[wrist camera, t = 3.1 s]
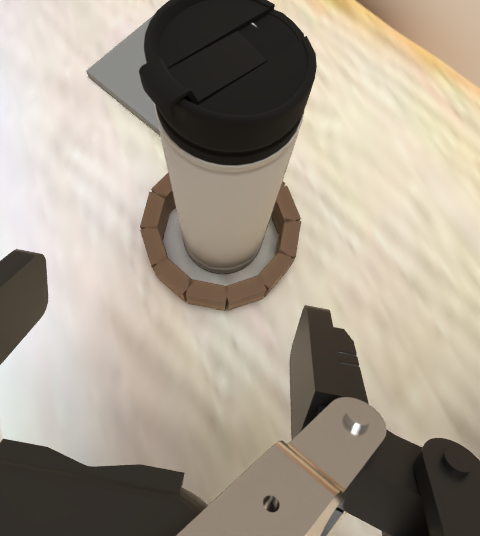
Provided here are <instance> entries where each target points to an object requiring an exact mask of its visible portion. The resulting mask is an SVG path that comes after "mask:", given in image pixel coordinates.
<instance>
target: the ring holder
mask: <svg viewBox="0 0 480 536" xmlns="http://www.w3.org/2000/svg"><path fill="white" fill-rule="evenodd" d="M284 185H285V183H284V182H283V181H282V184H281V187H280V190H279V193H278V196H277V199H276V202H275V205H274V208H273V211H272V214H271V216H272V219H273V222H274V224H275V227H276V229H277V232H278V234H279V236H278V242H277V248H276V254H275V257H274V258H273V259H272V260H271V262H270V263H269V264H268V265H267V266H266V267H265V268H264V270H263V271H262V272H261V273H260V274H259V275H258V276H255V277H252V278H249V279H246V280H243V281H240V282H237V283H234V284H231V285H228V286H223V285H218V284H213V283H208V282H202V281H197V280H192V279H191V278H190V277H189V276H188V275H186V274H185V273H184V272H183V271H182V270H181V269H180V268H178V267H177V266H176V265H175V264H174V263H173V262H171V261H170V260H169V259H168V257H167V254H166V251H165V248H164V245H163V242H162V240H163V236H164V232H165V228H166V224H167V220H168V216H169V213H170V212H171V211H172V210H173V209H174V208H175V207H176V204H175V200H174V195H173V191H172V186H171V181H170V177H169V172H168V173H167V174H166V175H165V176H164V177H163V178H162V179H161V180H160V181H159V182H158V183H157V184H156V185H155V186H154V187H153V188H152V189H151V190H152V192H149V196H148V200H147V203H146V207H145V211H144V214H143V218H142V222H141V225H140V227H141V230H140V231H141V234H142V237H143V240H144V244H145V247H146V250H147V253H148V257H149V260H150V263H151V266H152V268H153V270H154V271H155V273H156V275H157V276H158V278H159V279H160V280H161V281H162V282H163V283H164V284H165V285H167V286H168V287H169V288H170V289H171V290H172V291H173V292H175V293H176V294H177V295H178V296H179V297H180V298H181V299H182V300H184V301H185V302H186V301H188V304H193V305H198V306H203V307H209V308H214V309H219V310H224V311H225V306H226V307H227V310H230V309H233V308H236V307H239V306H242V305H245V304H248V303H251V302H254V301H257V300H260V299H262V298H263V296H264V297H265V296H266V295H267V294H268V293H269V291H270V290H271V289H272V288H273V287H274V286H275V284H276V283H277V282H278V281H279V280H280V279H281V277H282V276H283V275H284V274H285V273H286V272H287V270H288V269H289V267H290V266H291V264H292V262H293V261H294V259H295V257H296V251H297V244H298V238H299V231H300V225H301V221H300V219H301V218H300V216H299V213H298V211H297V208H296V206H295V204H294V201H293V199H292V196H291V194H290V191H289V189H288V187H287V186H284Z"/></svg>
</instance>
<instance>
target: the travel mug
mask: <svg viewBox="0 0 480 536" xmlns="http://www.w3.org/2000/svg"><path fill="white" fill-rule="evenodd" d="M274 6H275V5H274V4H273V3H271V2H269V1H267V0H170V1H168V2H167V3H166V4H164V5H163V6H162V7H161V8H160V9H159V10H158V11H157V12H156V13H155V15H154V16H153V18H152V19H151V20H150V22H149V25H148V27H147V30H146V33H145V39H144V52H145V58H146V64H144V65H143V66H141V68H140V69H139V74H140V79H141V83H142V86H143V89H144V91H145V92H146V94H147V95H148V96H149V97H150V98H151V100H152V101H153V102H154V106H155V112H156V117H157V122H158V126H159V131H160V136H161V140H162V145H163V149H164V154H165V159H166V163H167V168H168V172H169V177H170V181H171V186H172V191H173V195H174V200H175V204H176V209H177V213H178V218H179V223H180V227H181V232H182V236H183V241H184V246H185V248H186V251H187V253H188V254H189V256H190V258H191V259H192V260H193V261H194V262H195V263H196V264H197V265H198V266H200V267H202V268H203V269H205V270H208V271H210V272H214V273H224V274H227V273H232V272H236V271H238V270H241V269H243V268H244V267H246V266H248V265H249V264H250V263H251V262H252V261H253V260H254V258H255V257H256V256H257V254H258V252H259V250H260V247H261V244H262V241H263V238H264V235H265V232H266V229H267V226H268V223H269V220H270V217H271V214H272V211H273V208H274V205H275V202H276V199H277V196H278V193H279V190H280V187H281V184H282V181H283V178H284V175H285V172H286V169H287V166H288V163H289V160H290V157H291V154H292V151H293V148H294V145H295V142H296V139H297V136H298V132H299V129H300V126H301V123H302V120H303V114H304V108H305V106H306V104H307V101H308V98H309V95H310V91H311V88H312V85H313V82H314V79H315V73H316V67H317V65H316V54H315V52H314V50H313V48H312V46H311V44H310V42H309V40H308V38H307V36H306V37H304V34H303V33H302V31H301V30H300V29H299V28H298V27H297V25H296V24H295V23H294V22H293V21H292V20H290V19H289V18H288V17H287V16H286V15H284V14H283V13H281V12H279V11H276V10H274Z"/></svg>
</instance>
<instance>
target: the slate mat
mask: <svg viewBox="0 0 480 536" xmlns="http://www.w3.org/2000/svg"><path fill="white" fill-rule="evenodd" d="M152 18H153V16H152V17H151V18H150V19H149V20H147V21H146V22H145V23H144V24H143V25H141V26H140V27H139V28H138V29H137V30H135V31H134V32H133V33H132V34H130V35H129V36H128V37H127V38H126V39H124V40H123V41H122V42H121V43H119V44H118V45H117V46H116V47H115V48H113V49H112V50H111V51H110V52H109V53H107V54H106V55H105V56H104V57H102V58H101V59H100V60H99V61H98V62H96V63H95V64H94V65H93V66H92V67H90V68H89V69H88V70H87V74H88V76H89V78H90V79H92V80H93V81H94V82H95V83H96V84H98V85H99V86H100V87H101V88H103V89H104V90H105V91H106V92H108V93H109V94H110V95H111V96H112V97H114V98H115V99H116V100H117V101H119V102H120V103H121V104H122V105H123V106H125V107H126V108H127V109H128V110H130V111H131V112H132V113H133V114H135V115H136V116H137V117H138V118H139V119H141V120H142V121H143V122H144V123H146V124H147V125H148V126H149V127H151V128H152V129H153V130H154V131H155V132H157V133H158V134H159V135H160V131H159V126H158V122H157V117H156V112H155V106H154V102H153V101H152V100H151V98H150V97H149V96H148V95H147V94H146V92H145V91H144V89H143V86H142V83H141V79H140V74H139V69H140V68H141V66H143V65H144V64H146V58H145V52H144V39H145V33H146V30H147V27H148V25H149V22H150V20H151V19H152Z"/></svg>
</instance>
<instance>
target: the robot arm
mask: <svg viewBox="0 0 480 536" xmlns="http://www.w3.org/2000/svg"><path fill="white" fill-rule="evenodd" d="M47 304H48V285H47V270H46V259H45V257H44V255H43V254H39V253H34V252H29V251H24V250H18V249H16V250H14V251H12V252H11V253H10V254H9V255H7V256H6V257H5V258H3V259H2V260H1V261H0V365H1V364H2V362H3V361H4V360H5V359H6V358H7V357H8V355H9V354H10V353H11V352H12V351H13V350H14V349H15V347H16V346H17V345H18V344H19V343H20V342H21V340H22V339H23V338H24V337H25V336H26V335H27V333H28V332H29V331H30V330H31V329H32V328H33V327H34V325H35V324H36V323H37V322H38V321H39V320H40V318H41V317H42V316H43V314H44V312H45V310H46V307H47ZM290 399H291V436H292V441H291V442H290V443H288V444H286V443H284V442H283V441H279V442H277V443H276V444H274V445H273V446H272V447H271V448H270V449H269V450H268V451H267V452H266V453H264V454H263V455H262V456H261V457H260V458H259V459H258V460H257V461H256V462H255V463H254V464H253V465H252V466H250V467H249V468H248V469H247V470H246V471H245V472H244V473H243V474H242V475H241V476H240V477H239V478H238V479H236V480H235V481H234V482H233V483H232V484H231V485H230V486H229V487H228V488H227V489H226V490H225V491H224V492H223V493H221V494H220V495H219V496H218V497H217V498H216V499H215V500H214V501H213V502H212V503H211V504H210V505H209V506H208V505H207V504H206V503H205V502H204V501H203V500H201V499H200V498H199V497H197V496H196V495H194V494H193V493H191V492H190V491H188V490H186V489H184V488H182V484H183V478H184V473H182V472H177V471H172V470H166V469H161V468H156V467H150V466H145V465H120V466H100V467H90V466H86V465H83V464H81V463H79V462H77V461H75V460H73V459H71V458H69V457H67V456H65V455H63V454H61V453H59V452H57V451H55V450H53V449H50V448H48V447H44V446H39V445H34V444H28V443H23V442H18V441H12V440H7V439H3V440H2V441H1V442H0V536H330V534H331V533H332V531H333V530H334V529H335V527H336V526H337V524H338V523H339V522H340V520H341V519H342V517H343V516H344V515H345V513H346V512H348V513H349V514H351V515H353V516H355V517H357V518H359V519H361V520H363V521H365V522H366V523H368V524H370V525H372V526H374V527H376V528H378V529H380V530H382V536H480V461H479V460H478V459H477V458H476V457H475V456H474V455H473V454H472V453H471V452H470V451H469V450H467V449H466V448H465V447H463V446H461V445H460V444H458V443H456V442H453V441H451V440H448V439H443V438H434V439H430V440H428V441H427V442H426V443H425V444H424V446H423V448H422V447H420V446H418V445H415V444H413V443H411V442H409V441H407V440H404V439H402V438H400V437H398V436H396V435H394V434H393V433H391V432H389V431H388V430H387V429H386V425H385V422H384V420H383V418H382V417H381V415H380V414H379V413H378V412H377V411H376V410H375V409H374V408H373V407H371V406H370V405H369V404H368V400H367V396H366V391H365V387H364V383H363V379H362V375H361V371H360V367H359V362H358V358H357V357H356V350H355V346H354V342H353V340H352V339H351V338H350V336H349V335H348V334H347V332H346V331H345V330H344V329H340V328H335V327H333V324H332V319H331V313H330V310H328V309H322V308H317V307H312V306H307V305H305V306H304V308H303V311H302V314H301V318H300V321H299V324H298V328H297V331H296V334H295V338H294V341H293V345H292V349H291V354H290Z"/></svg>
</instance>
